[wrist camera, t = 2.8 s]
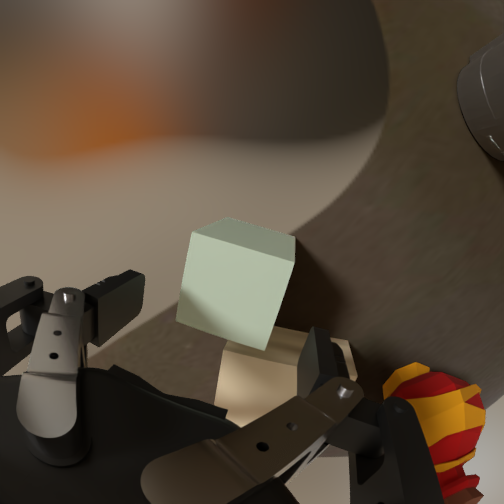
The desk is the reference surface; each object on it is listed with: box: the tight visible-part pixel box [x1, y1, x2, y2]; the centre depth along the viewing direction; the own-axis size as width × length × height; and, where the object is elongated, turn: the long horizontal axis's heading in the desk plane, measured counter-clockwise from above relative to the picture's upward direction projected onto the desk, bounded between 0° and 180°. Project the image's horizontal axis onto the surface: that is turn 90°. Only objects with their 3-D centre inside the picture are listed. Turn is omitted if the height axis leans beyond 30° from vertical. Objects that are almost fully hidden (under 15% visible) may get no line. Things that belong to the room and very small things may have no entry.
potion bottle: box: [383, 362, 486, 504], centre depth 13 cm, size 10×10×15 cm
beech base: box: [214, 326, 358, 427], centre depth 20 cm, size 9×9×5 cm
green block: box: [176, 217, 295, 351], centre depth 17 cm, size 5×5×7 cm
